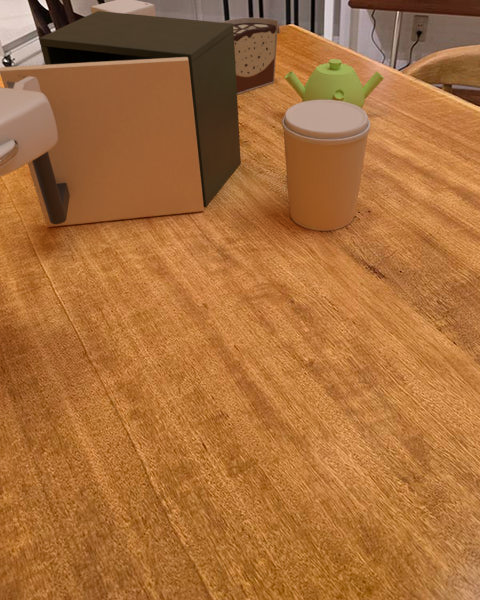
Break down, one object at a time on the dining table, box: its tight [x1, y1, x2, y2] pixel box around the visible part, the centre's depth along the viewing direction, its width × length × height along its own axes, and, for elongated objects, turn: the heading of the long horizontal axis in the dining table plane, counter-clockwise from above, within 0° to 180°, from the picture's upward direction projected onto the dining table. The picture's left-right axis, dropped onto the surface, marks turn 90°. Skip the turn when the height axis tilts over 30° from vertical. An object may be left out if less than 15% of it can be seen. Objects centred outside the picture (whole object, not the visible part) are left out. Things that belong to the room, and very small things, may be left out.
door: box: [0, 57, 205, 228], centre depth 60 cm, size 7×18×17 cm, turn 103°
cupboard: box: [38, 11, 242, 208], centre depth 71 cm, size 12×18×18 cm
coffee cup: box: [281, 100, 371, 232], centre depth 66 cm, size 9×9×12 cm
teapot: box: [284, 58, 385, 109], centre depth 90 cm, size 11×12×8 cm
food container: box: [221, 17, 281, 96], centre depth 99 cm, size 12×6×10 cm, turn 135°
